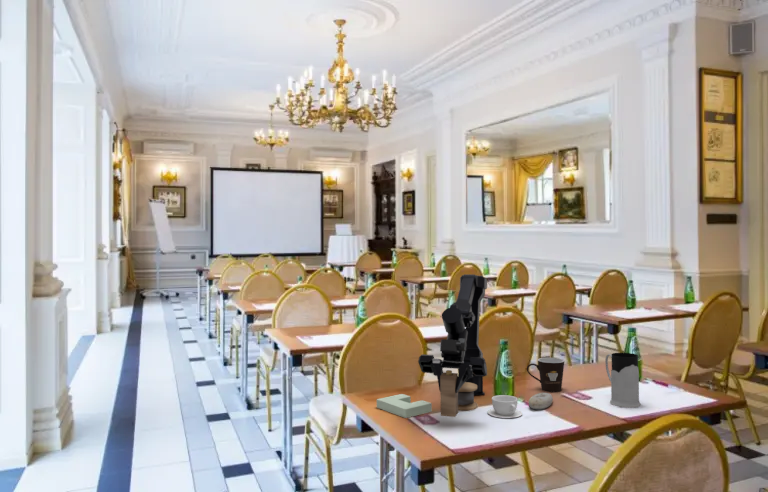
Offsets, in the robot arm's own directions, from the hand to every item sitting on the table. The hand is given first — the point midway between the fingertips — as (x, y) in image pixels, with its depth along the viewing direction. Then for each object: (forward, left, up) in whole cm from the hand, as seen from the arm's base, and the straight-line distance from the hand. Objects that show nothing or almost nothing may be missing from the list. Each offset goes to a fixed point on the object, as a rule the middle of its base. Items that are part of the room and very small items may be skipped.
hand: (448, 391), depth 160 cm
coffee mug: (-44, -30, -10) cm, 54 cm away
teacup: (-19, -7, -10) cm, 23 cm away
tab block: (-1, -1, -7) cm, 7 cm away
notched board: (+9, -18, -9) cm, 22 cm away
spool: (-10, -17, -9) cm, 22 cm away
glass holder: (-59, -11, -10) cm, 61 cm away
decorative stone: (-34, -13, -10) cm, 38 cm away
